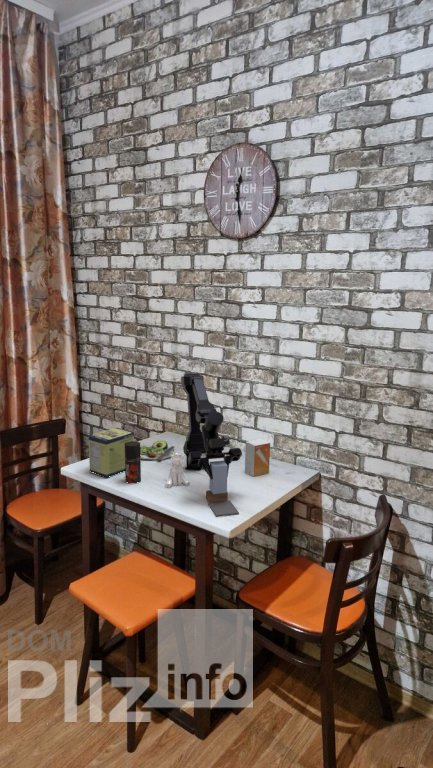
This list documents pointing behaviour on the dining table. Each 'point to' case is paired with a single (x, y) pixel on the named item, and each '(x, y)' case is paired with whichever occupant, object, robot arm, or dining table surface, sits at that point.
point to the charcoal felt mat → (223, 508)
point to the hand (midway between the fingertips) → (219, 478)
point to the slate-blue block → (218, 477)
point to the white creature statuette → (177, 472)
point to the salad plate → (157, 451)
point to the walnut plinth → (216, 497)
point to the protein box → (108, 451)
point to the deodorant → (132, 462)
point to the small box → (257, 457)
